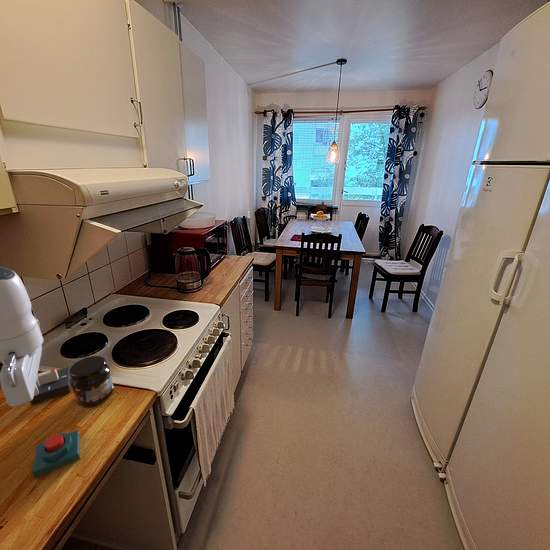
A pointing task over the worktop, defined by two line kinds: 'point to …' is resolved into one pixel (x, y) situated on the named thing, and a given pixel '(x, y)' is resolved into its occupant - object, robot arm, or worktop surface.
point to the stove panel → (54, 387)
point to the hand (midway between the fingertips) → (34, 391)
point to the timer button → (54, 443)
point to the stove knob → (48, 376)
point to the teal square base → (57, 454)
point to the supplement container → (91, 381)
